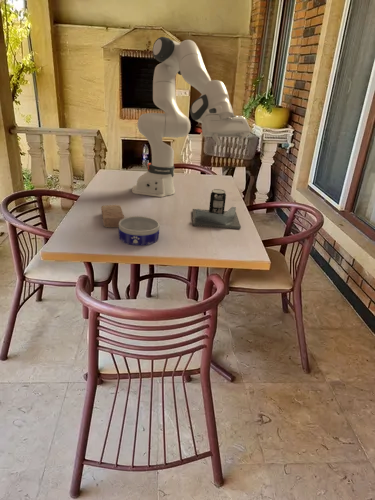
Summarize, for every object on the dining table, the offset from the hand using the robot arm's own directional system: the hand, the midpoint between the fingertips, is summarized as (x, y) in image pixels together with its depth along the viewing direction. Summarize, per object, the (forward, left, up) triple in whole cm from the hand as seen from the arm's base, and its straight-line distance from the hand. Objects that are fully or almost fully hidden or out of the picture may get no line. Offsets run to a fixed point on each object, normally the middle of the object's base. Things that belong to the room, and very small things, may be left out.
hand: (230, 144), depth 151 cm
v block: (-3, +2, -33) cm, 33 cm away
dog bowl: (-34, -22, -34) cm, 52 cm away
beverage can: (-2, +2, -32) cm, 32 cm away
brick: (-46, -6, -34) cm, 58 cm away
